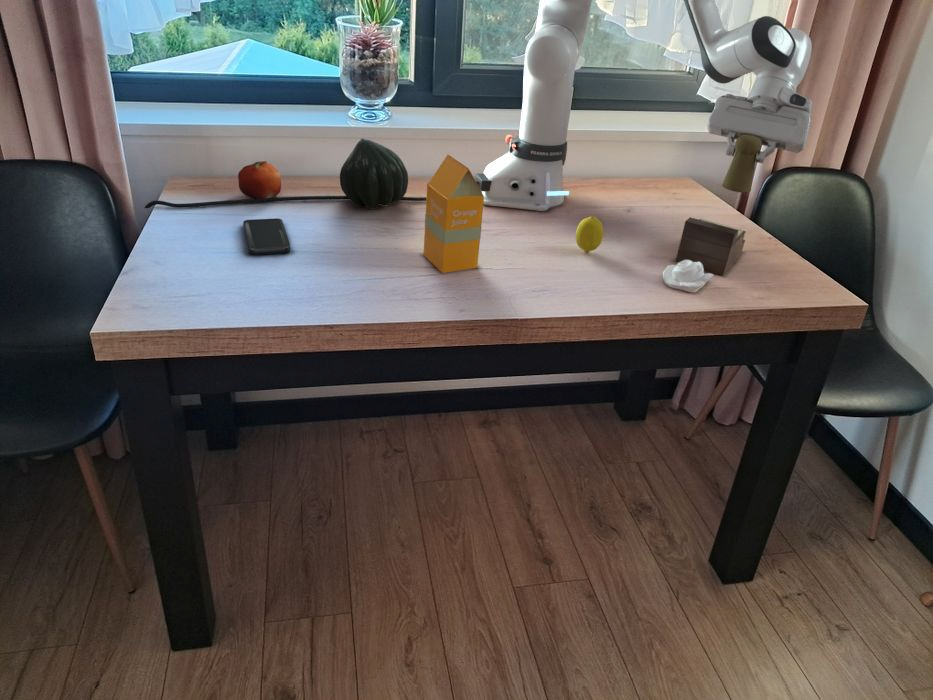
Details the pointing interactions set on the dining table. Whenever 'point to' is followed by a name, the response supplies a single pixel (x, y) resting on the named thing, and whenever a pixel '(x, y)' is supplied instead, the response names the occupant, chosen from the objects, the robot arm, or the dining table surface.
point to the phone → (266, 236)
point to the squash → (373, 175)
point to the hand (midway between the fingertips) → (744, 157)
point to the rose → (686, 276)
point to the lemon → (589, 234)
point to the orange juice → (453, 218)
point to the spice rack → (710, 244)
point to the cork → (743, 164)
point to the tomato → (259, 180)
